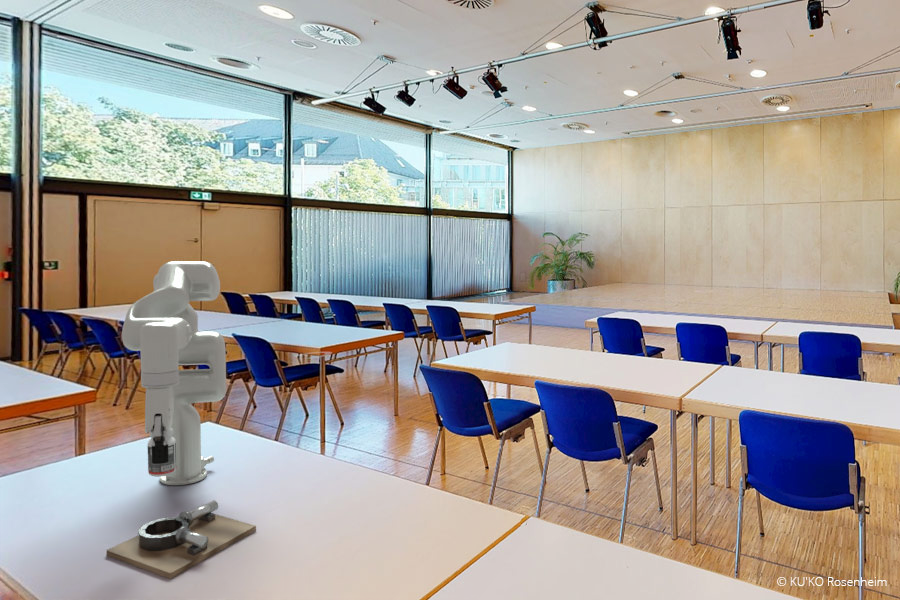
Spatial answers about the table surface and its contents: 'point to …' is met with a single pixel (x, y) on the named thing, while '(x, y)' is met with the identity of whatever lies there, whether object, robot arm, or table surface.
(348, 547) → the table surface
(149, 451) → the pill bottle
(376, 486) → the table surface
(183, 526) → the stand
